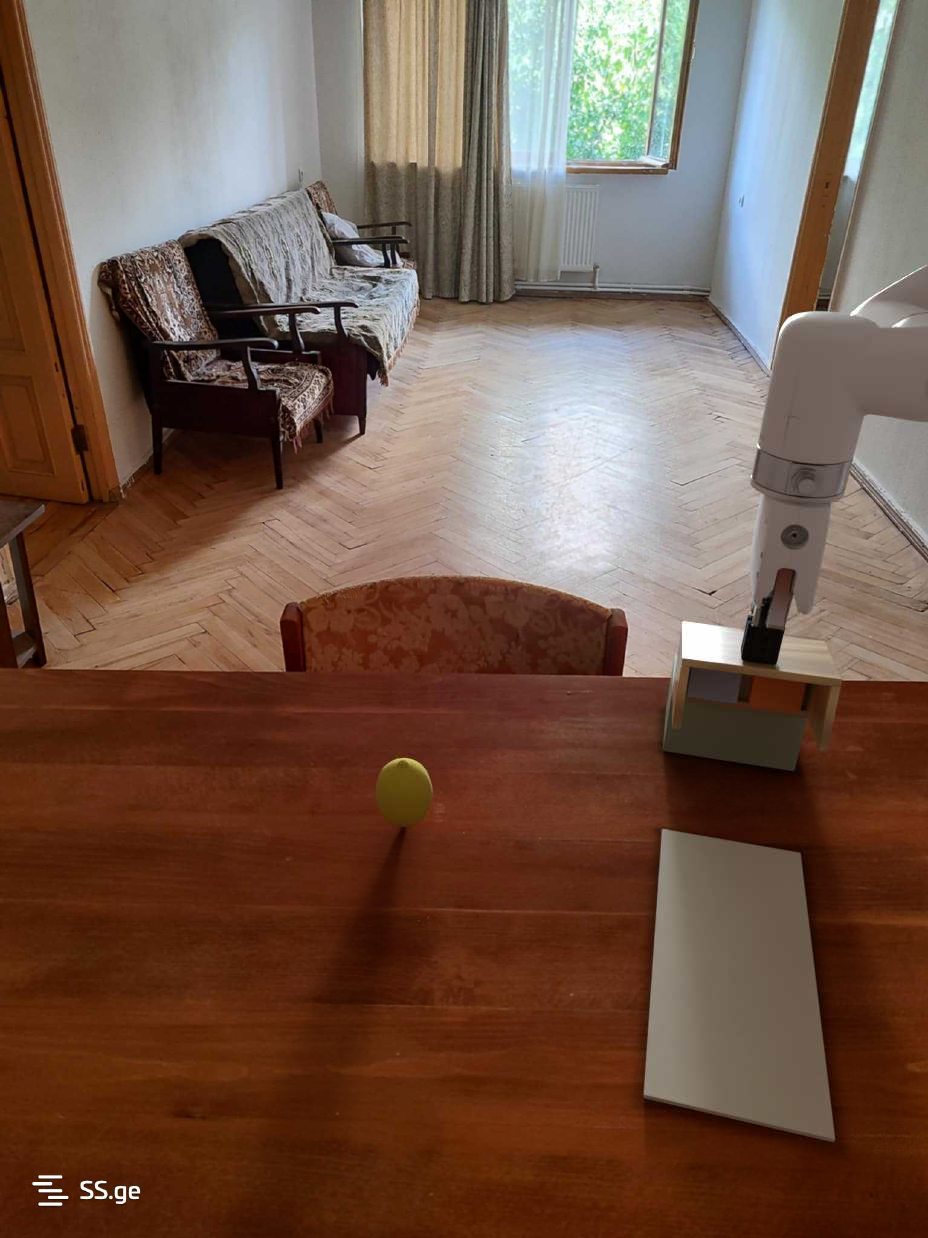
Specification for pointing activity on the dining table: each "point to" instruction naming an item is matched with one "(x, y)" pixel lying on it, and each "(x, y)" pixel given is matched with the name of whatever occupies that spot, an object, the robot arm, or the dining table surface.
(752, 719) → the grey open box
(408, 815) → the lemon
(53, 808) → the dining table surface
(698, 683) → the packet blue
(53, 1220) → the dining table surface
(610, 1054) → the dining table surface
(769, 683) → the packet orange
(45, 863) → the dining table surface
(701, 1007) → the mat
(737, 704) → the wooden open box
